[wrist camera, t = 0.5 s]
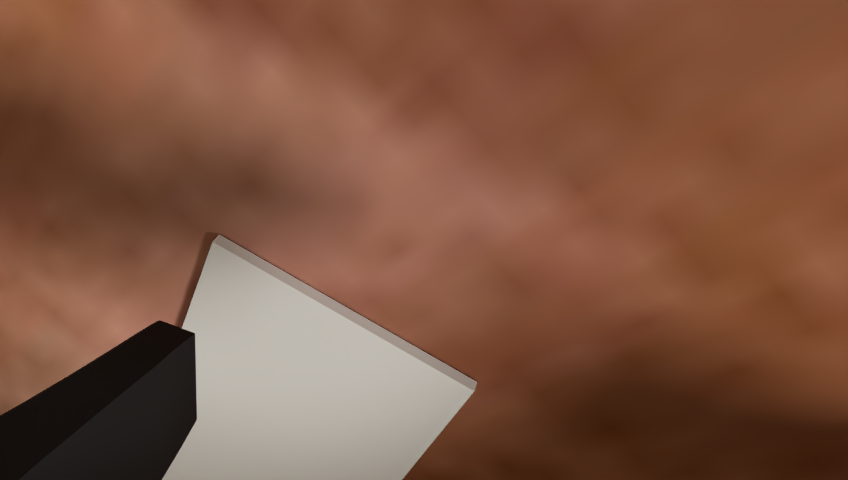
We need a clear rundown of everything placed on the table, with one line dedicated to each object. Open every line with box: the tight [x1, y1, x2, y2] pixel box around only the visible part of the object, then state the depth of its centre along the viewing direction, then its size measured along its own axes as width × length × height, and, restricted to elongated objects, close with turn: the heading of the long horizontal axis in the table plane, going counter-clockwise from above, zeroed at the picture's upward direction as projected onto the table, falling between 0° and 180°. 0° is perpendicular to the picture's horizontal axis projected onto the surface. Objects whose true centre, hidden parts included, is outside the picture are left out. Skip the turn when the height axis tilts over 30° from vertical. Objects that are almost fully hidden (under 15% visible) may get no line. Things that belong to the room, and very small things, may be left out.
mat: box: [162, 235, 477, 480], centre depth 30 cm, size 9×20×1 cm, turn 155°
